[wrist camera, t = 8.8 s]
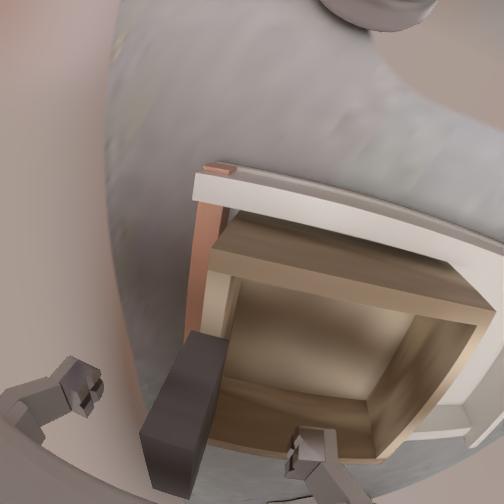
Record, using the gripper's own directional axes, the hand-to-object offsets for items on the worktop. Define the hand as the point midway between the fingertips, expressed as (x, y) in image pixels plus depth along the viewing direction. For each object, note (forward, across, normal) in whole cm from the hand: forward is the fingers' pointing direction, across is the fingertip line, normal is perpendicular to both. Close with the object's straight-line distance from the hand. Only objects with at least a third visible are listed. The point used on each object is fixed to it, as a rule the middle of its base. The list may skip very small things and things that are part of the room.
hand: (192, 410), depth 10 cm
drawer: (+8, -6, 0) cm, 10 cm away
